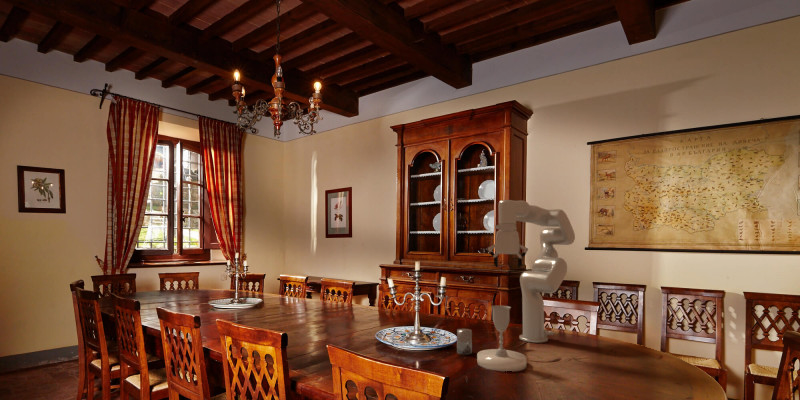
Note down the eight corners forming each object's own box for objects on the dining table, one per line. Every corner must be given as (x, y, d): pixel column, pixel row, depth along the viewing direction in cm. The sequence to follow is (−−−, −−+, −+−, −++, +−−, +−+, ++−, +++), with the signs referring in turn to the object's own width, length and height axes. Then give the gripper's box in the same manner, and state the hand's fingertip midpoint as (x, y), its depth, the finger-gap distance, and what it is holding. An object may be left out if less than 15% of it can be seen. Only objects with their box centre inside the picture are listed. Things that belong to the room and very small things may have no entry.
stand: (511, 355, 170) (511, 348, 170) (536, 369, 153) (535, 361, 153) (469, 358, 166) (469, 350, 166) (490, 373, 149) (489, 364, 149)
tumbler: (468, 350, 178) (468, 328, 178) (474, 354, 172) (474, 331, 173) (454, 351, 176) (454, 329, 177) (460, 355, 170) (460, 332, 171)
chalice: (509, 353, 163) (509, 305, 164) (512, 358, 156) (512, 308, 158) (490, 352, 164) (490, 305, 165) (492, 357, 157) (492, 308, 158)
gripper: (486, 227, 187) (486, 267, 185) (527, 228, 180) (527, 268, 179) (489, 228, 194) (489, 265, 192) (528, 228, 187) (529, 267, 186)
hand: (507, 267), depth 186 cm, fingers open, 9 cm apart
